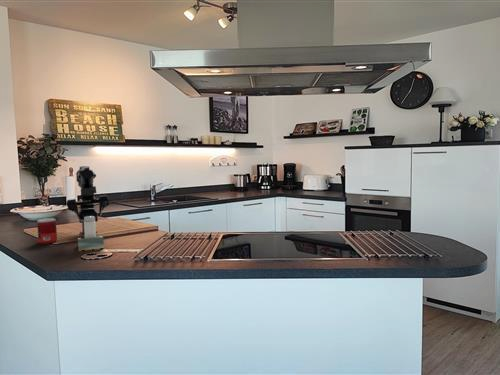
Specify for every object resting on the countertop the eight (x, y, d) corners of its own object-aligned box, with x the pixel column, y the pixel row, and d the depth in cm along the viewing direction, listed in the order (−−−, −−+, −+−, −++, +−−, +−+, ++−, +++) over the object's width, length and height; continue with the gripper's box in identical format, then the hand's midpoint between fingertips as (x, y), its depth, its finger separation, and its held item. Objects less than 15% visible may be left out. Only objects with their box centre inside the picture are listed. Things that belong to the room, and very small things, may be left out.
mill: (82, 245, 169) (81, 217, 168) (89, 243, 174) (88, 215, 172) (91, 246, 168) (90, 218, 167) (98, 243, 173) (97, 216, 171)
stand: (78, 245, 174) (77, 234, 174) (102, 243, 179) (101, 232, 178) (78, 251, 165) (78, 239, 164) (103, 248, 169) (103, 237, 168)
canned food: (60, 240, 183) (59, 218, 182) (45, 244, 176) (44, 221, 175) (50, 239, 186) (48, 217, 185) (35, 243, 179) (33, 220, 178)
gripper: (63, 183, 175) (65, 211, 167) (106, 179, 182) (109, 205, 174) (67, 196, 184) (69, 223, 176) (107, 192, 191) (111, 217, 183)
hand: (89, 217), depth 177 cm, fingers open, 9 cm apart
